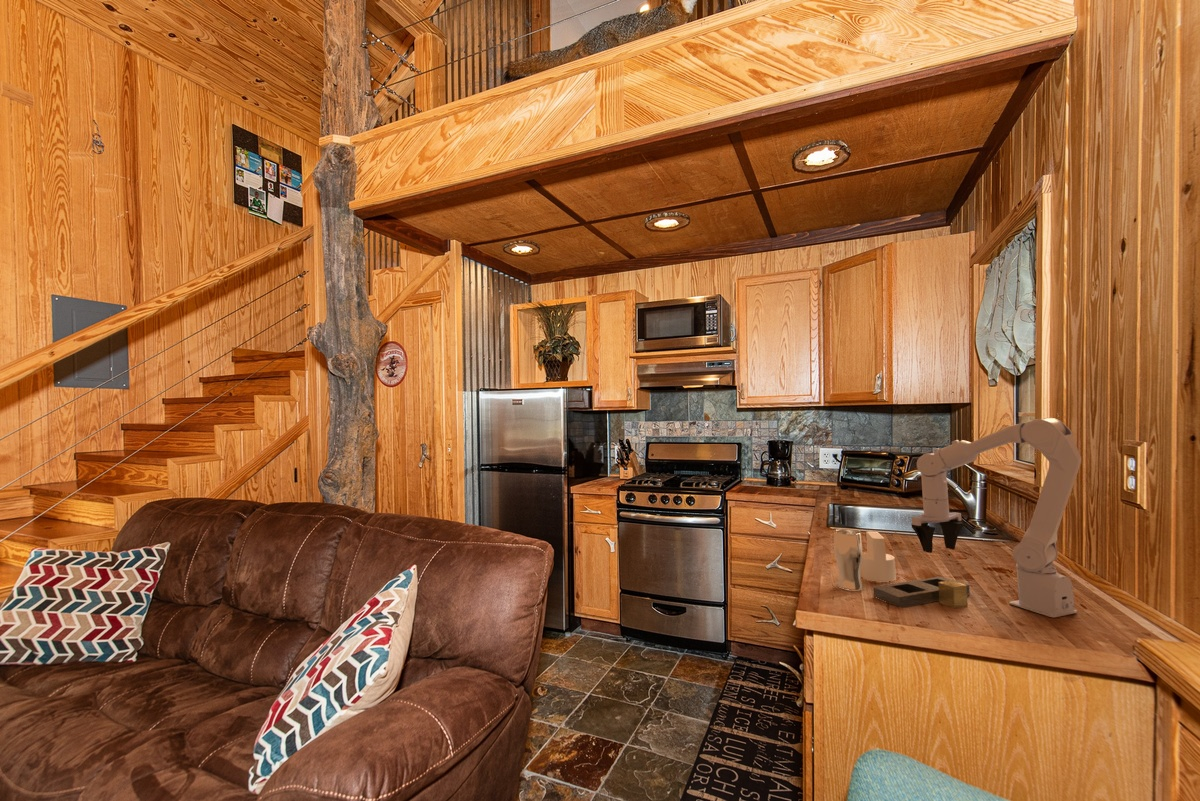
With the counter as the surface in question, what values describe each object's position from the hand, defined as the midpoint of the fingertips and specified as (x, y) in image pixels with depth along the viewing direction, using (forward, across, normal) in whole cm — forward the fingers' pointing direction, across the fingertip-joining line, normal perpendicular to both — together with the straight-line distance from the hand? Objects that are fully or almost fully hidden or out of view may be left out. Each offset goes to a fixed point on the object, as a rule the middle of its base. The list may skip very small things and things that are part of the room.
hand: (938, 550), depth 138 cm
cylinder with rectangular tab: (+10, +8, -13) cm, 18 cm away
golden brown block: (+10, +8, +10) cm, 16 cm away
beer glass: (+10, +21, -9) cm, 25 cm away
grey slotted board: (+10, +10, +3) cm, 14 cm away
